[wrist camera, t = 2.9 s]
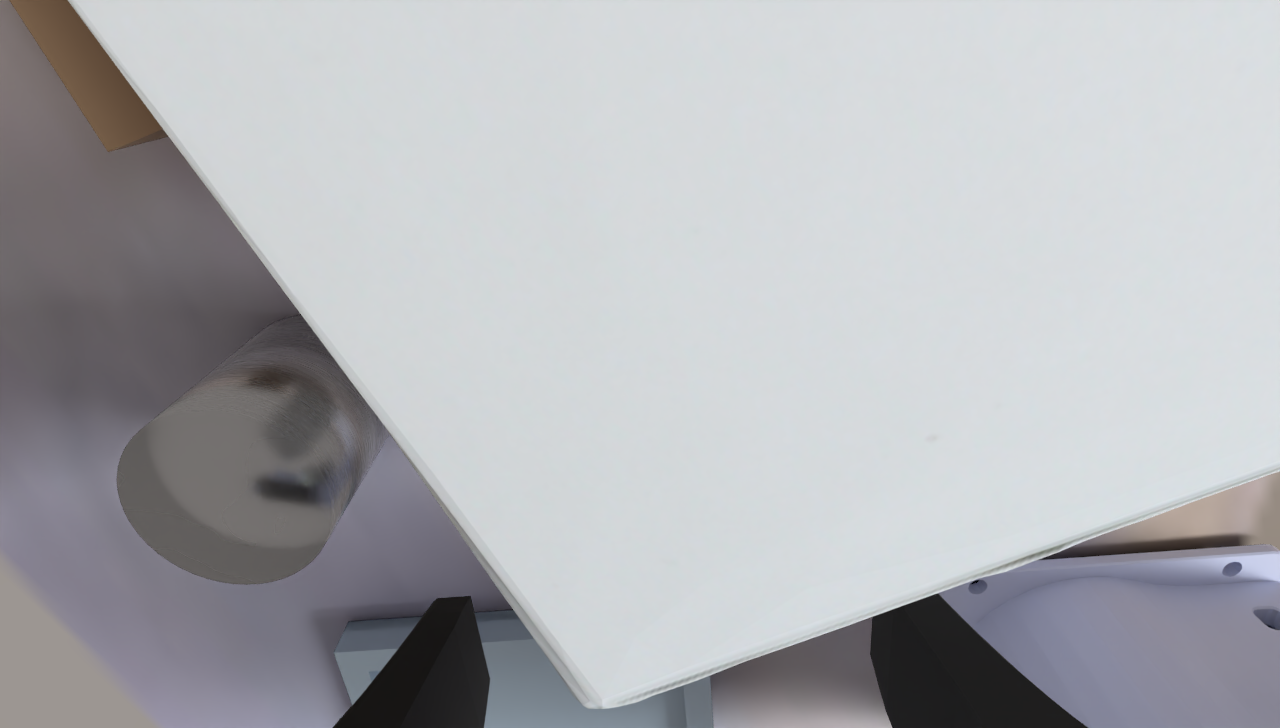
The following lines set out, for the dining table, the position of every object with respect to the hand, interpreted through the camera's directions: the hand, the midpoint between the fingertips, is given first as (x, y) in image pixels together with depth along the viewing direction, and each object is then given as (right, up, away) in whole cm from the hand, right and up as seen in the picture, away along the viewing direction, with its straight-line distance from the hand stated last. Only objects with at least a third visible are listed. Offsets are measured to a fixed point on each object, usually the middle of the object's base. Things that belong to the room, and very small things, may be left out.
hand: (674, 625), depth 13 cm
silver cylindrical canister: (-9, +4, +6) cm, 11 cm away
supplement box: (+1, +11, +3) cm, 12 cm away
